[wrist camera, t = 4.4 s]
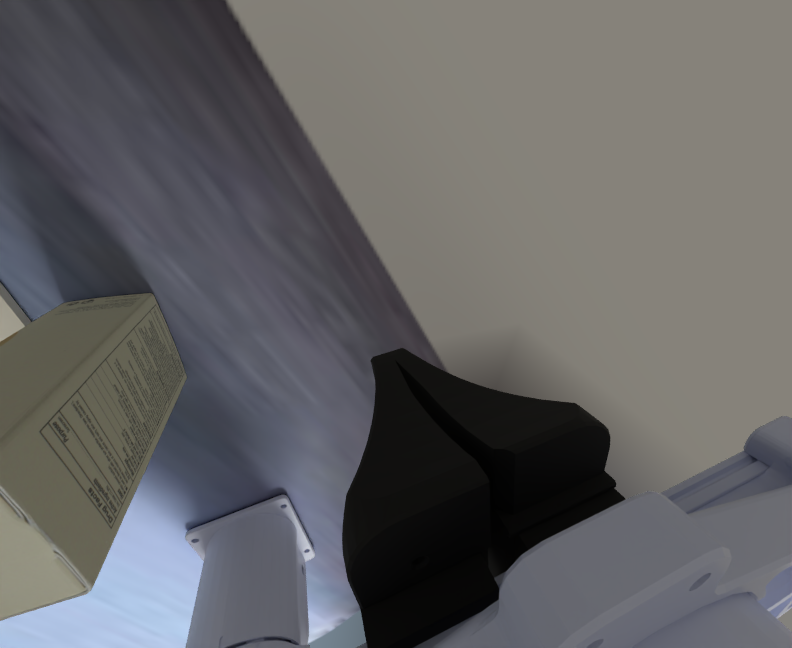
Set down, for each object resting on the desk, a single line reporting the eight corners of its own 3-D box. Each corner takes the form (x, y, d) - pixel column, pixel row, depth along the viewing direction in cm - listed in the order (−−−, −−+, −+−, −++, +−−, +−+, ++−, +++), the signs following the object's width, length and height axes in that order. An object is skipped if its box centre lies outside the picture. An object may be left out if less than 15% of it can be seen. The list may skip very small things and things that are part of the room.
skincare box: (61, 300, 17) (-332, 513, 6) (156, 289, 18) (-33, 452, 7) (112, 397, 19) (-96, 660, 9) (191, 383, 20) (92, 599, 10)
